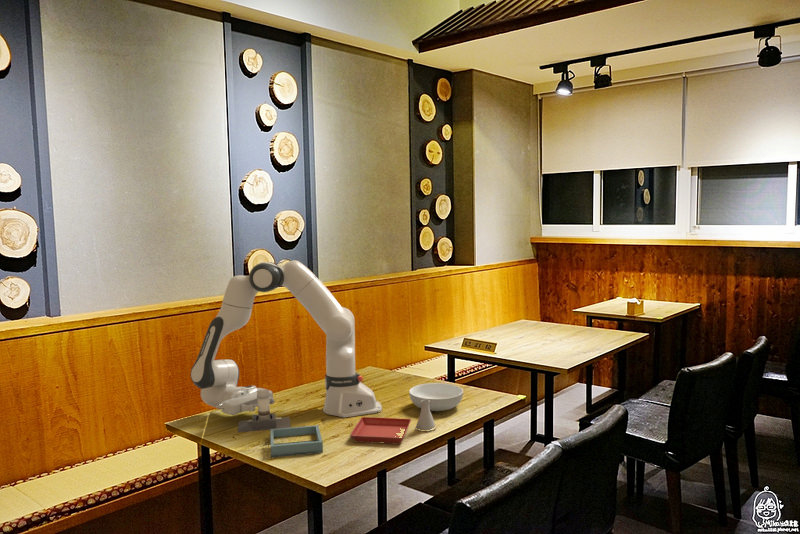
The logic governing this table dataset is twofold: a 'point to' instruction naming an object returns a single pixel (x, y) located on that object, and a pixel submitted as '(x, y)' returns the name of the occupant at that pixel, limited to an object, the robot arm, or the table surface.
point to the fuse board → (264, 423)
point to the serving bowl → (437, 395)
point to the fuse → (263, 404)
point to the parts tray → (296, 447)
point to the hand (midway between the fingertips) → (263, 405)
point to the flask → (425, 417)
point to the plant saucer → (379, 429)
